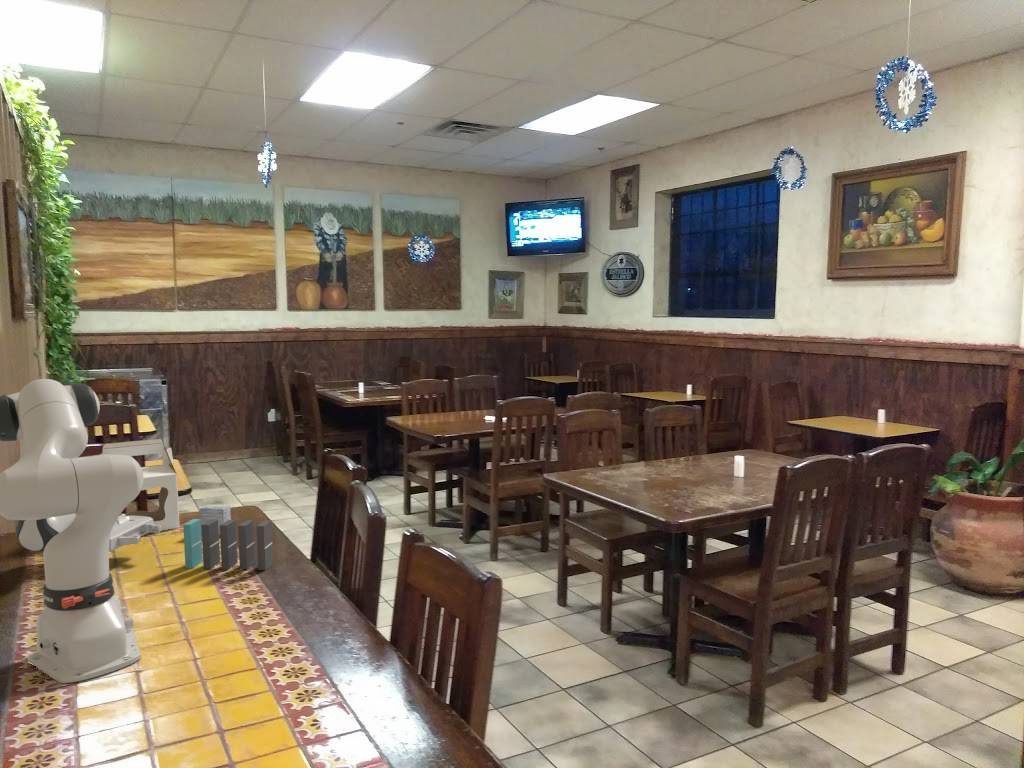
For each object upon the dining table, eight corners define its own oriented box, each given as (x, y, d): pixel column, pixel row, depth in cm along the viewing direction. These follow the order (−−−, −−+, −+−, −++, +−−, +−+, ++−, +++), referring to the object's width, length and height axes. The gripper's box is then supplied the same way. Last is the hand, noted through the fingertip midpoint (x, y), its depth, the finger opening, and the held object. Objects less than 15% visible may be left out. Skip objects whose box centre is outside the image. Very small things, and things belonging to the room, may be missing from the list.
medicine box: (232, 532, 221) (230, 504, 220) (224, 536, 217) (223, 508, 216) (207, 531, 222) (206, 504, 221) (200, 536, 217) (198, 508, 217)
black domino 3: (255, 563, 194) (253, 520, 192) (247, 570, 189) (245, 525, 187) (248, 563, 194) (246, 520, 193) (239, 569, 189) (237, 525, 188)
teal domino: (202, 562, 195) (200, 519, 194) (192, 568, 190) (190, 524, 189) (195, 561, 195) (193, 518, 194) (185, 568, 190) (183, 524, 189)
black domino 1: (220, 562, 194) (218, 519, 193) (210, 569, 189) (208, 525, 188) (213, 562, 195) (210, 519, 193) (203, 568, 190) (201, 524, 188)
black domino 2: (237, 563, 194) (235, 519, 193) (229, 569, 189) (226, 525, 188) (230, 562, 194) (228, 519, 193) (221, 569, 189) (219, 525, 188)
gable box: (99, 541, 213) (93, 448, 210) (95, 530, 224) (89, 441, 221) (180, 528, 226) (175, 440, 223) (173, 518, 237) (168, 434, 234)
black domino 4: (273, 564, 193) (271, 520, 192) (265, 570, 188) (263, 526, 187) (266, 563, 193) (264, 520, 192) (258, 570, 188) (256, 526, 187)
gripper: (73, 533, 183) (124, 535, 182) (123, 511, 204) (170, 512, 202) (75, 557, 184) (126, 559, 183) (125, 533, 204) (171, 534, 203)
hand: (149, 534), depth 193 cm, fingers open, 8 cm apart
